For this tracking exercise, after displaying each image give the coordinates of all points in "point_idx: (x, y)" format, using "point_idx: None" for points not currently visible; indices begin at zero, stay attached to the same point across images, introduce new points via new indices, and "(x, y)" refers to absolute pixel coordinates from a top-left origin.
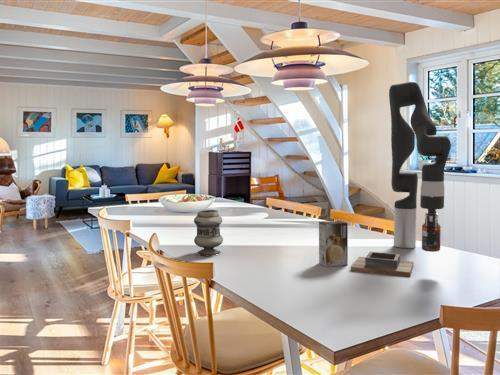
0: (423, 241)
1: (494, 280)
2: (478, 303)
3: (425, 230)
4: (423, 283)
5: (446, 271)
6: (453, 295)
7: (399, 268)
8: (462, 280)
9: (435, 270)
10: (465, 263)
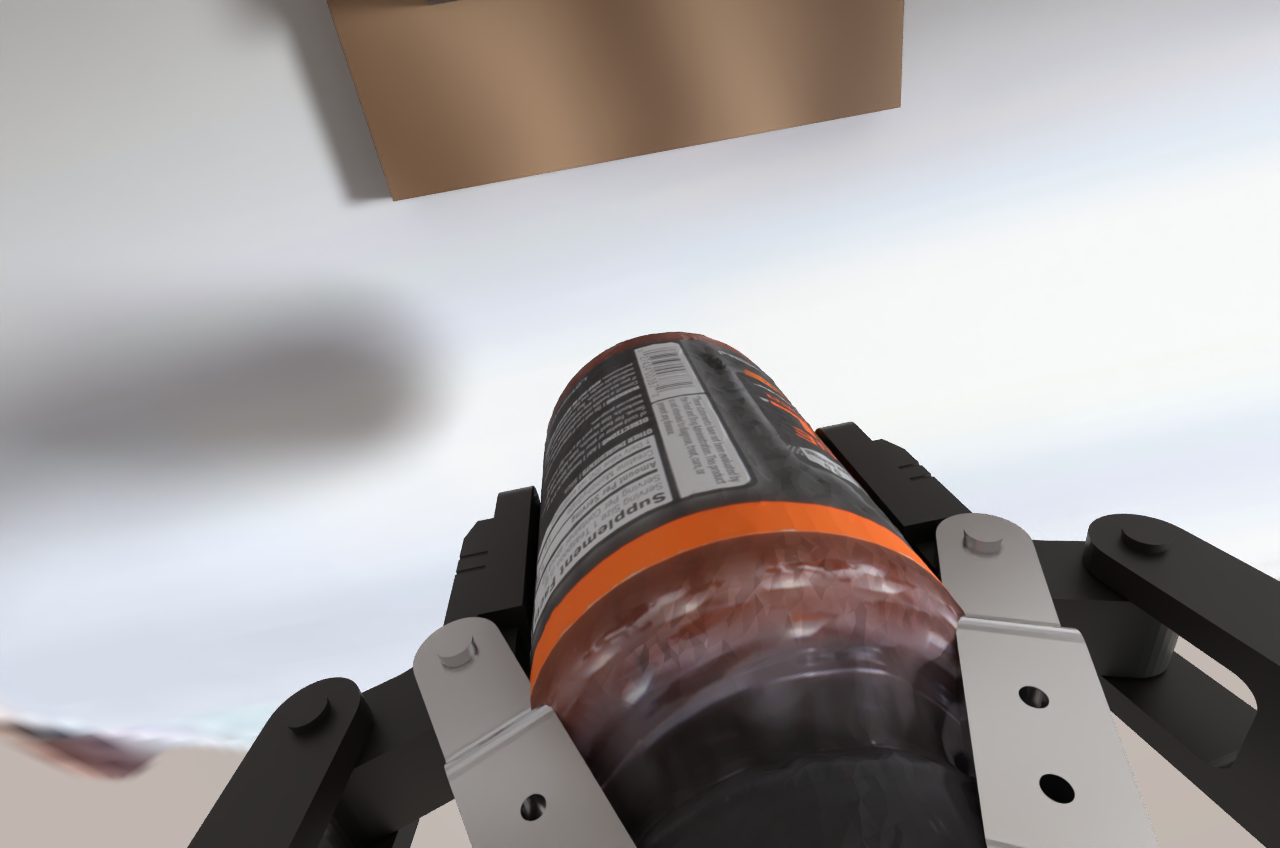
0: (575, 426)
1: None
2: (96, 728)
3: (550, 606)
4: (268, 364)
5: None
6: (131, 603)
7: (485, 31)
8: None
9: (775, 345)
10: (1089, 481)
